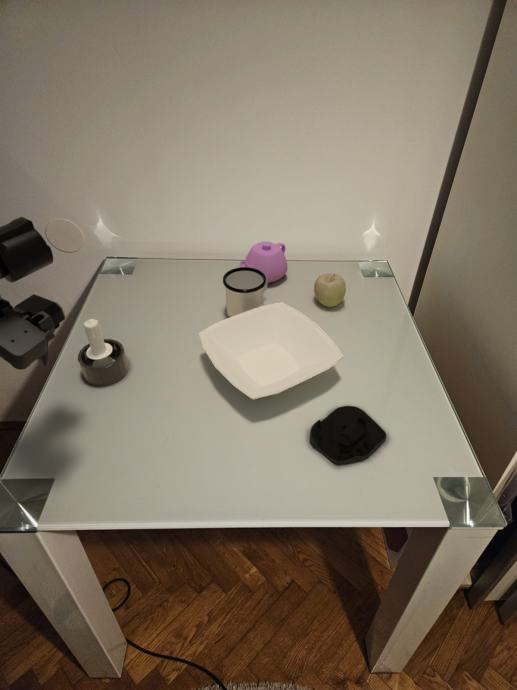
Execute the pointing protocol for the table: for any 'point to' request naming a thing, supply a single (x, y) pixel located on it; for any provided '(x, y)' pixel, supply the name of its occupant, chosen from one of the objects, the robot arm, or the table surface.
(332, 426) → the black low lumpy piece
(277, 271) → the teapot
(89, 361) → the holder
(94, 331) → the candle
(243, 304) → the mug
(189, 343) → the table surface
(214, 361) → the bowl
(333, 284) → the fruit
